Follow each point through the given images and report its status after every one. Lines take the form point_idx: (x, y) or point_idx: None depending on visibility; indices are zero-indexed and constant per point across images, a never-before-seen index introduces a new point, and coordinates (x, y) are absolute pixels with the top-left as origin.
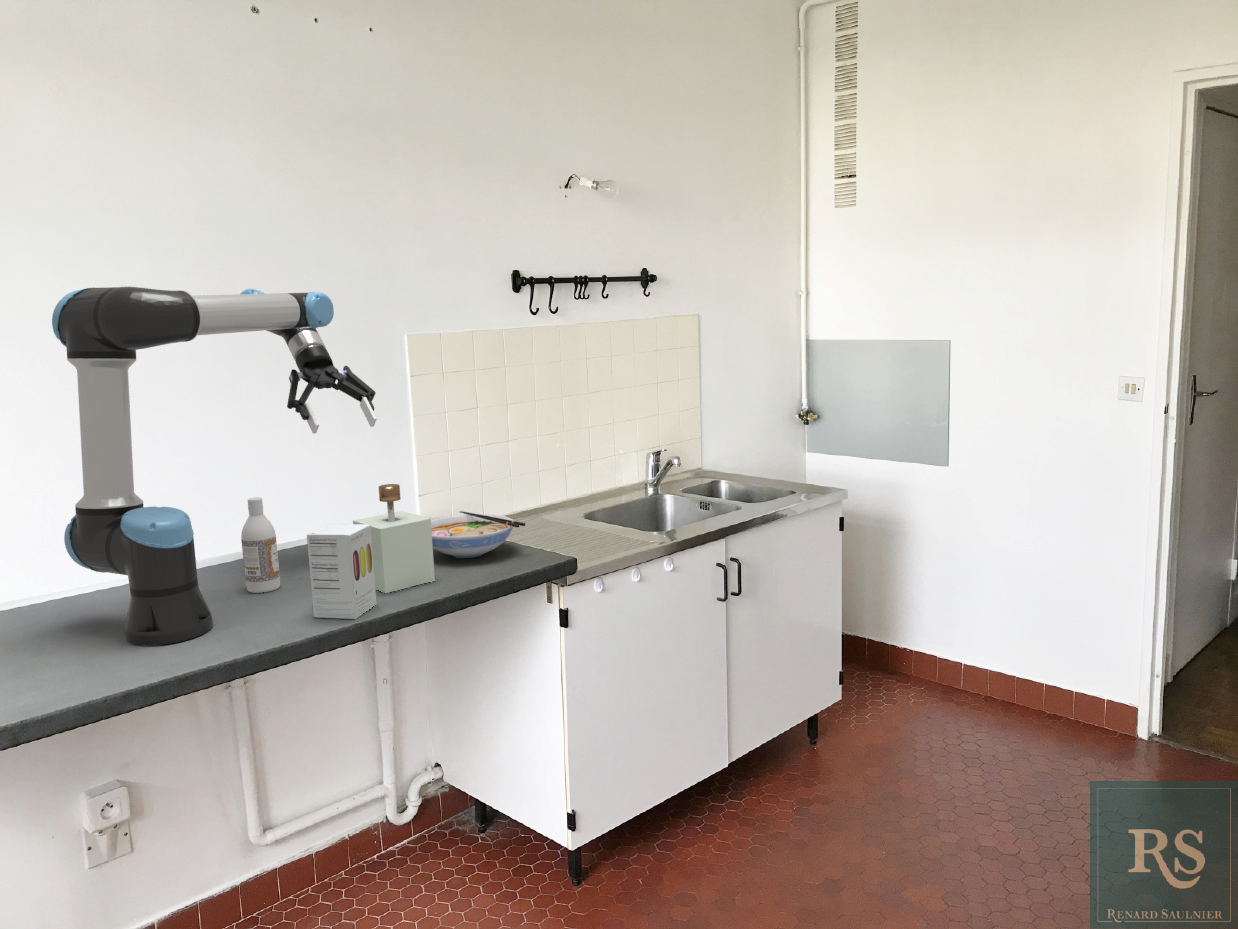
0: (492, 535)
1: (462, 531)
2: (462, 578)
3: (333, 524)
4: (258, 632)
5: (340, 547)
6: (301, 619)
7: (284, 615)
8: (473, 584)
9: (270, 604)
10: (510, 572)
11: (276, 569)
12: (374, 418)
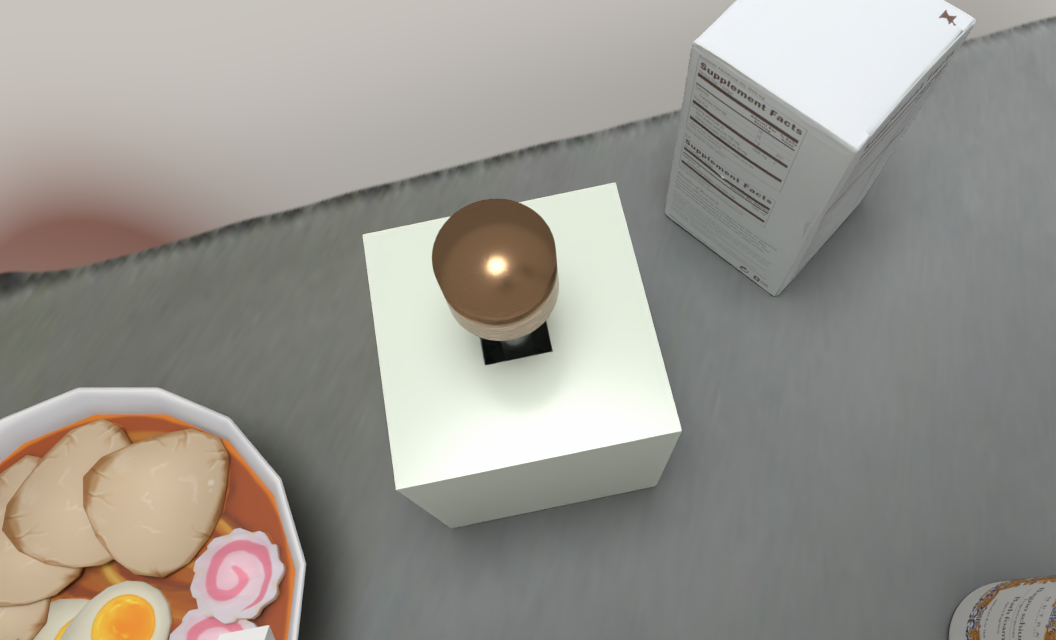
0: (92, 396)
1: (131, 567)
2: (333, 317)
3: (841, 127)
4: (1029, 167)
5: None
6: (899, 208)
7: (947, 274)
8: (338, 236)
9: (990, 419)
10: (180, 287)
11: (994, 600)
12: (256, 632)
